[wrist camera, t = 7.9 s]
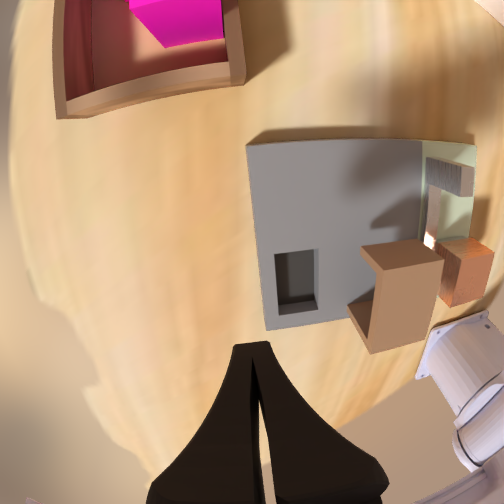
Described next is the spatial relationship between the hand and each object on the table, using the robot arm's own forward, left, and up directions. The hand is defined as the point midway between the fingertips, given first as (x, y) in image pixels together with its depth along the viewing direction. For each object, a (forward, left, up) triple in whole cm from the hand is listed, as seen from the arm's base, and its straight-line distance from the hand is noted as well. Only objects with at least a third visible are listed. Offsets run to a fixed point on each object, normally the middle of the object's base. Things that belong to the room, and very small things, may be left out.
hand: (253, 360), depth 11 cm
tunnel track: (-10, -1, -10) cm, 14 cm away
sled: (-15, -1, -9) cm, 17 cm away
